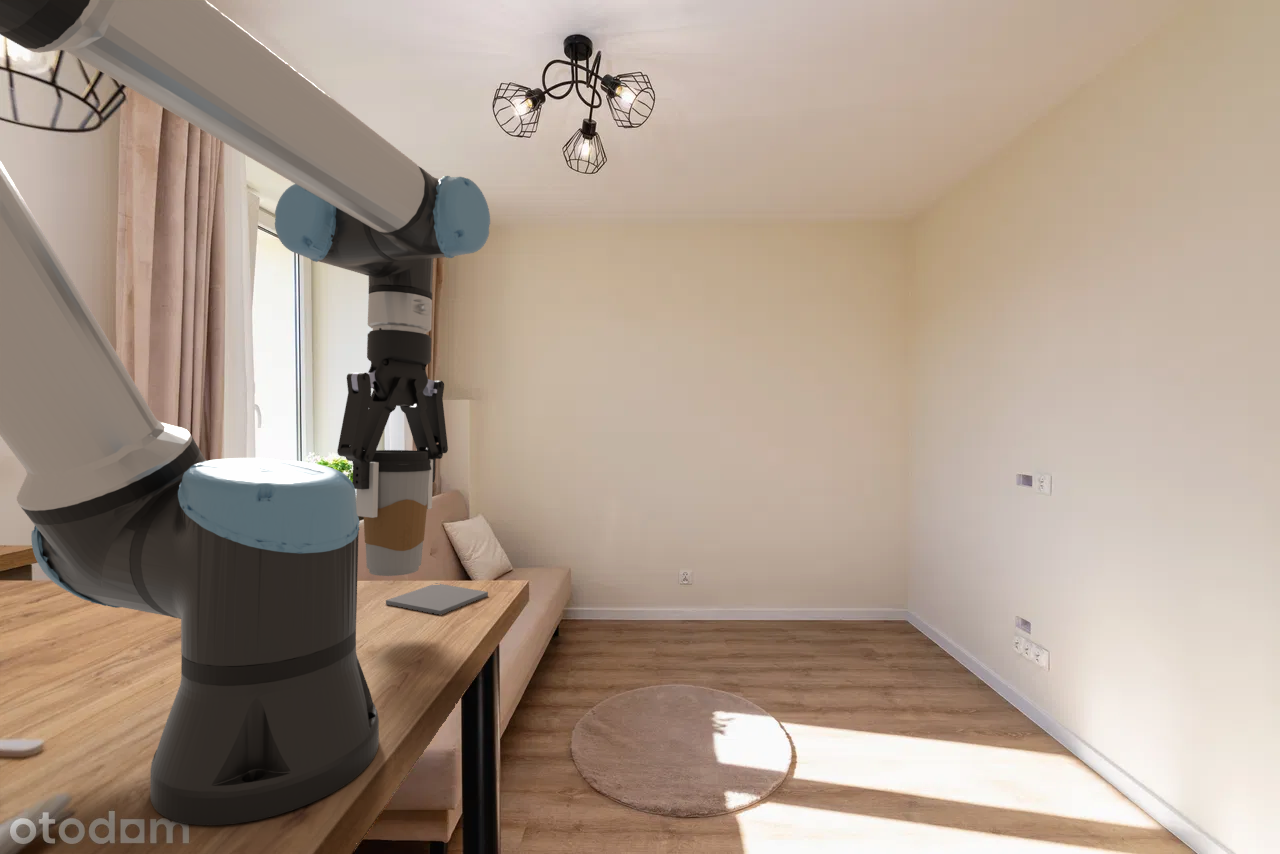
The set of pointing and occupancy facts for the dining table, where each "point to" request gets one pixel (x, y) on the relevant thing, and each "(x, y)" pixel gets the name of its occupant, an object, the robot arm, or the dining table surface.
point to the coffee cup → (398, 513)
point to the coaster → (437, 598)
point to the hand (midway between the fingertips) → (395, 511)
